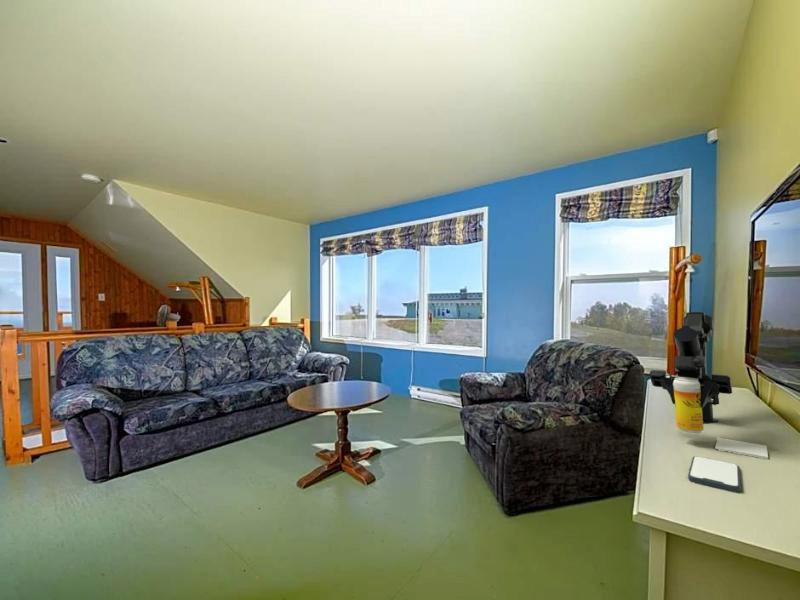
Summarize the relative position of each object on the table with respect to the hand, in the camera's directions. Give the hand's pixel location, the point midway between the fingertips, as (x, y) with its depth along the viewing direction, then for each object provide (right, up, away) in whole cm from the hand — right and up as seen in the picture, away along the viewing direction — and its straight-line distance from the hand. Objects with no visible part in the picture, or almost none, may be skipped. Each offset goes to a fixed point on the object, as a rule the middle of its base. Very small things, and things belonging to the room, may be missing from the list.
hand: (687, 405), depth 100 cm
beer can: (+1, -8, +1) cm, 8 cm away
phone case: (-9, -11, -19) cm, 24 cm away
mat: (+11, -11, -5) cm, 16 cm away
